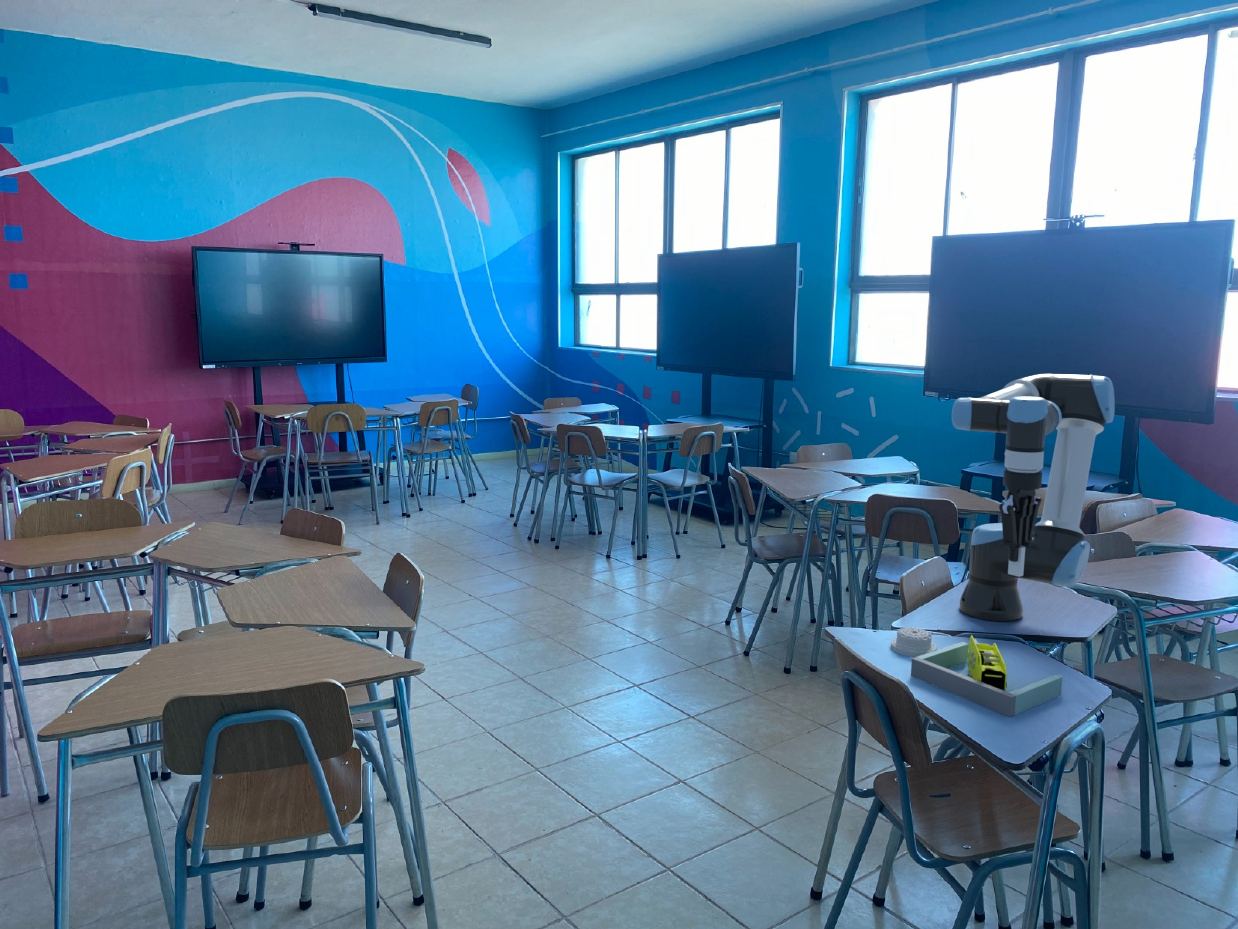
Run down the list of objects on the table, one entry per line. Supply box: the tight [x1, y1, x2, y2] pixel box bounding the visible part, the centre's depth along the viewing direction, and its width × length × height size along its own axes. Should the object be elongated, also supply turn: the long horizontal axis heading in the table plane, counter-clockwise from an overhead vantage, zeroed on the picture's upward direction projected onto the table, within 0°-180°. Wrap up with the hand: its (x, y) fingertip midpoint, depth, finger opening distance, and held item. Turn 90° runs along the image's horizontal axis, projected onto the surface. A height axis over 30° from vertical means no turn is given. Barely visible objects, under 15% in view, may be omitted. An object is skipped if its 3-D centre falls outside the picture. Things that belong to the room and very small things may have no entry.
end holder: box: [910, 641, 1064, 718], centre depth 180 cm, size 18×23×4 cm
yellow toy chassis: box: [967, 635, 1008, 692], centre depth 181 cm, size 16×6×8 cm, turn 166°
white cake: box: [890, 626, 938, 658], centre depth 200 cm, size 10×4×10 cm
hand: (1015, 574), depth 190 cm, fingers closed
